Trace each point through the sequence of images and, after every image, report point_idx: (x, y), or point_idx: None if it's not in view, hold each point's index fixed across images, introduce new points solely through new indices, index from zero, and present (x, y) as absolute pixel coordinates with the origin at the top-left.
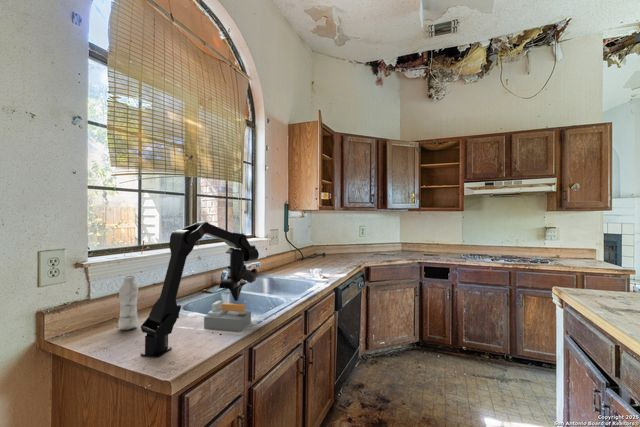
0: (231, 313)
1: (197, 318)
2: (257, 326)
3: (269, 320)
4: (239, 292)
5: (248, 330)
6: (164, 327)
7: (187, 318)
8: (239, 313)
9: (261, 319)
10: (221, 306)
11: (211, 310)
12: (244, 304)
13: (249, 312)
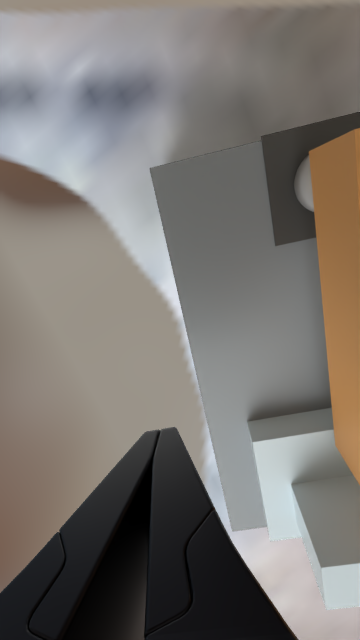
0: (314, 335)
1: (264, 561)
2: (226, 35)
3: (28, 15)
4: (109, 527)
5: (350, 58)
6: None
7: (287, 602)
8: (280, 253)
9: (52, 124)
10: (311, 501)
11: None
12: (355, 145)
13: (197, 156)
